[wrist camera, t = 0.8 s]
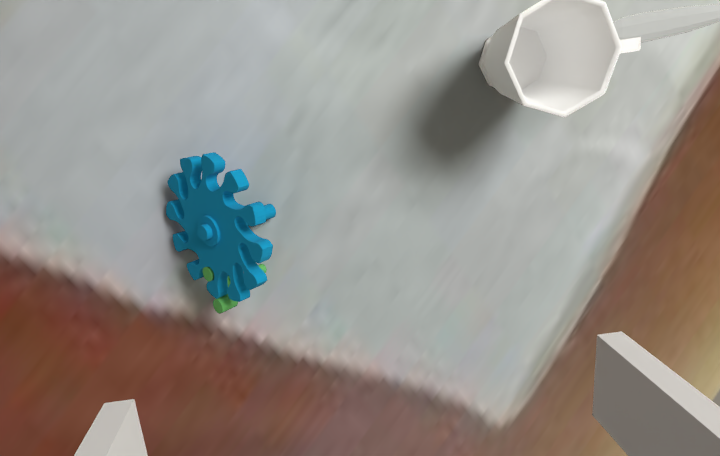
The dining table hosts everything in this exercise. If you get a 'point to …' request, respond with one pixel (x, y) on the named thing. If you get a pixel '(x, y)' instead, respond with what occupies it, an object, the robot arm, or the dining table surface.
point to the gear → (219, 229)
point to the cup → (555, 55)
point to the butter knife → (666, 22)
